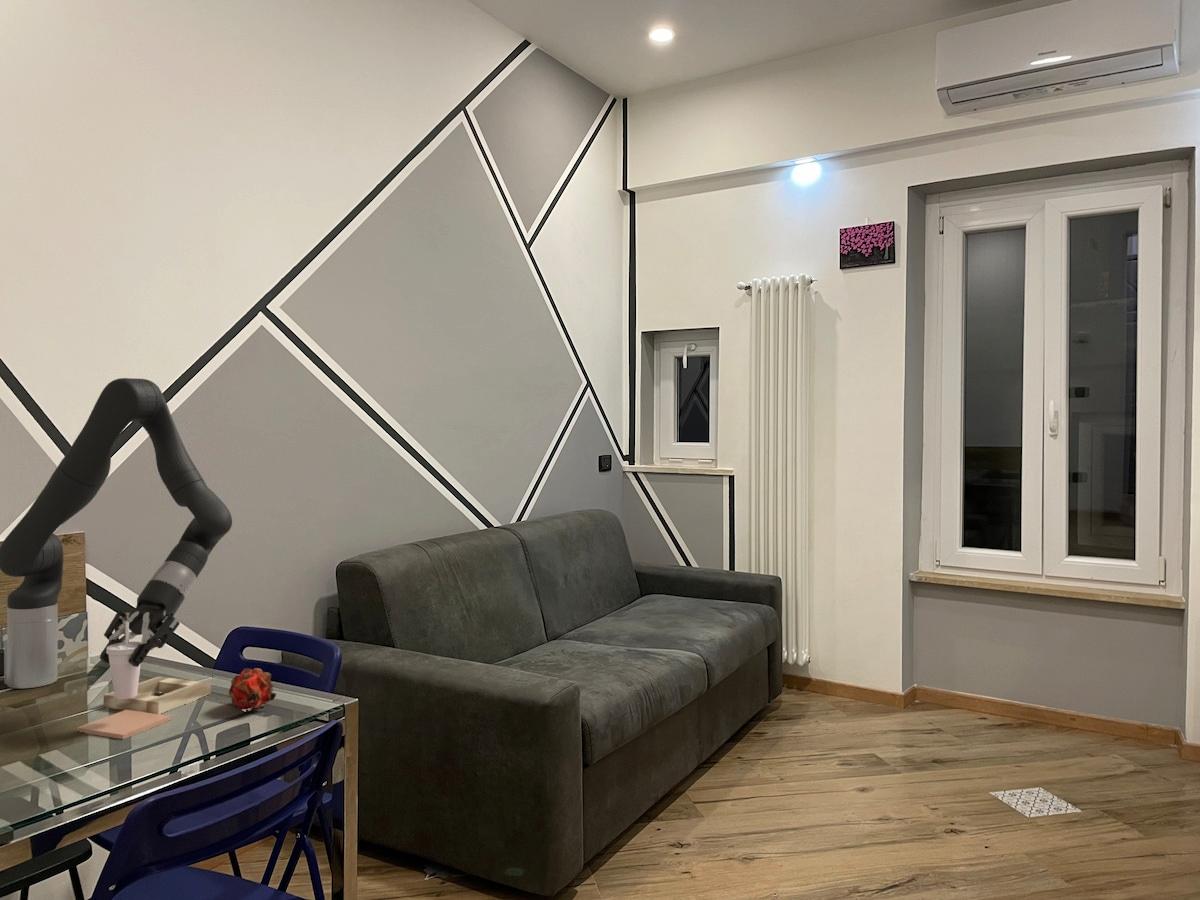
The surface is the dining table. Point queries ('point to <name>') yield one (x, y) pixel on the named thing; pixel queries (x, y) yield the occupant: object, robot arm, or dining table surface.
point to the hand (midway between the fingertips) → (118, 662)
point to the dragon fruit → (251, 689)
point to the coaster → (124, 724)
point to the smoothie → (123, 668)
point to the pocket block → (175, 697)
